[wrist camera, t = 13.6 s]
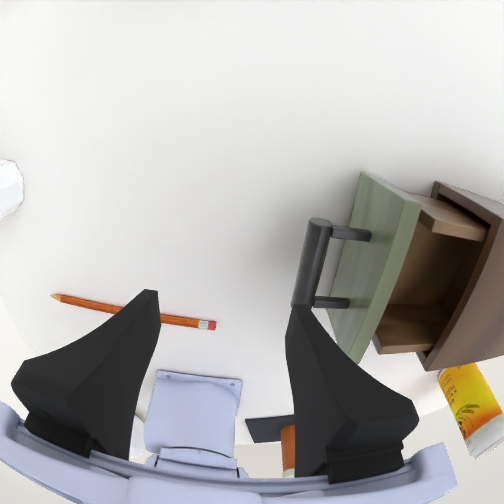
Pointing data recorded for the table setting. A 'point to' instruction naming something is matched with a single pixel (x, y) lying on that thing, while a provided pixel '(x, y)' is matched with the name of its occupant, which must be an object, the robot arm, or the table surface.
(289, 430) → the bottle
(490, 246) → the cabinet
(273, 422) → the mat
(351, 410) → the robot arm
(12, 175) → the cup
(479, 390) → the beer can
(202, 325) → the pencil
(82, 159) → the table surface
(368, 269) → the drawer
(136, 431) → the geometric ball
